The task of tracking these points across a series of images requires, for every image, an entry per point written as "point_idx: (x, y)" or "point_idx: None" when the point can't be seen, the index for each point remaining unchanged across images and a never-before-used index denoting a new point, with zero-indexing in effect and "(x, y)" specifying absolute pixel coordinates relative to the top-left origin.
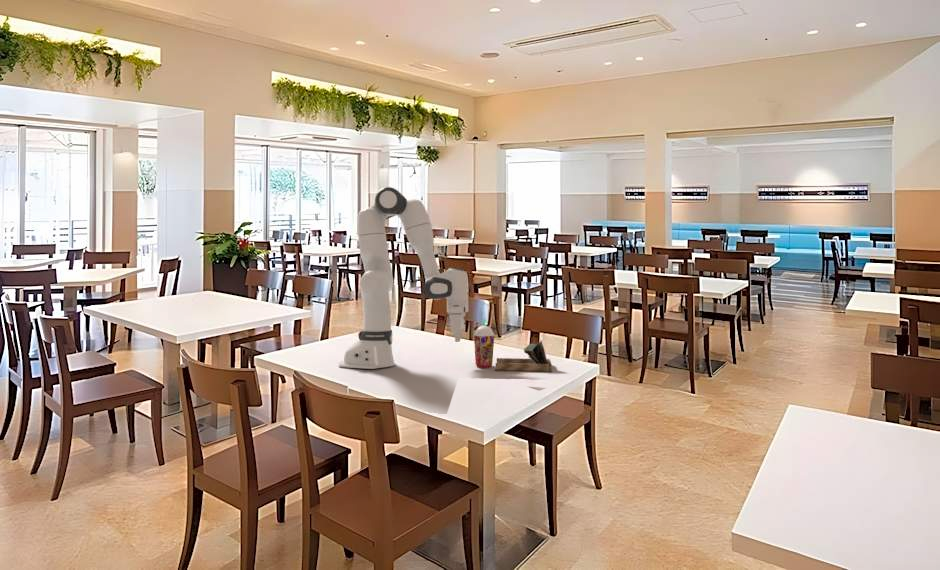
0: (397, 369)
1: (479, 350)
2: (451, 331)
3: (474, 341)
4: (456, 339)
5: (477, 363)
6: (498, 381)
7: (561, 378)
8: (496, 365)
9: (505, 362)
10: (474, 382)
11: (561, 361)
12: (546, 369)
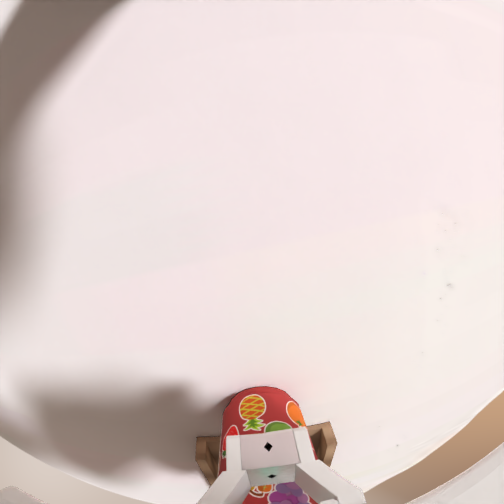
0: (106, 4)
1: (220, 470)
2: (3, 489)
3: (262, 496)
4: (227, 459)
5: (230, 409)
6: (50, 425)
7: (158, 499)
8: (196, 454)
9: (320, 449)
10: (5, 377)
11: (380, 477)
12: None
